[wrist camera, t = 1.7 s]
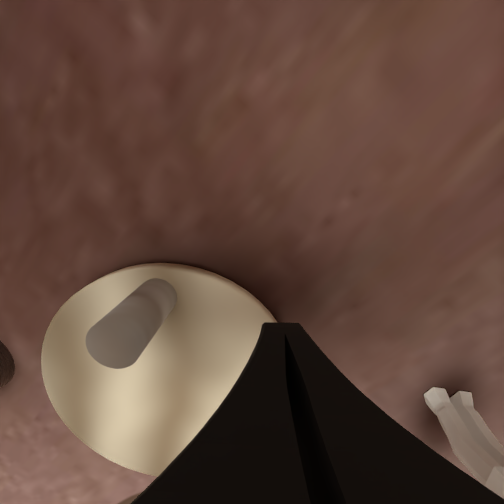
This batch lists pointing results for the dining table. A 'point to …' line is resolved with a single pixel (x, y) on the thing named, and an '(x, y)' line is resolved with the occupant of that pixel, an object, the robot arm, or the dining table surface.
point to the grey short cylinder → (5, 365)
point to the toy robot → (469, 437)
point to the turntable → (148, 359)
